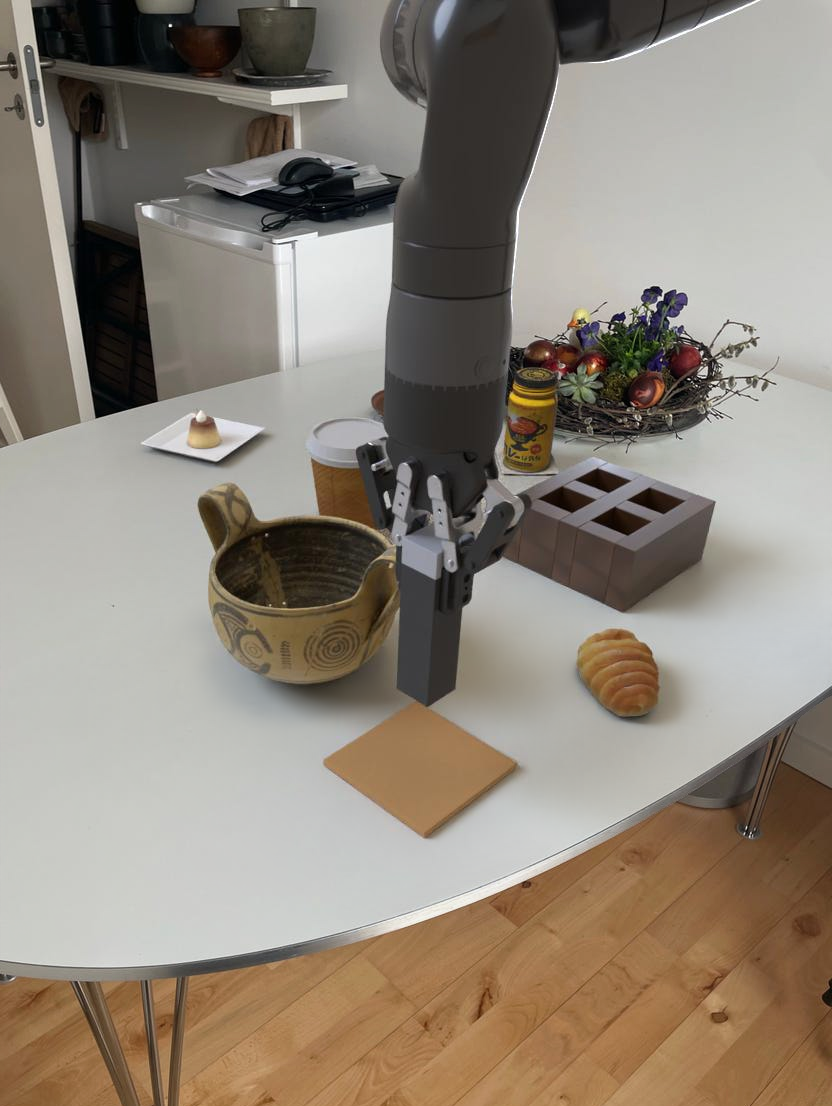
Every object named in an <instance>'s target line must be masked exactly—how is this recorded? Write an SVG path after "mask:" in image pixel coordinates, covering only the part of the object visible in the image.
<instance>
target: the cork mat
mask: <svg viewBox="0 0 832 1106" xmlns="http://www.w3.org/2000/svg"><path fill="white" fill-rule="evenodd" d="M322 762H323V764H322V765H323V766H324V767H326V768H327V769H328V770H330V772H332V773H334V774H335V775H337V776H338V777H340V778H341V779H342V780H344V781H345V782H346V783H347V784H349V785H350V786H352V787H353V788H354V789H356V790H358V791H359V792H360V793H361V794H363V795H364V796H366V797H367V798H368V799H369V800H371V801H372V802H374V803H375V804H377V805H378V807H381V808H382V809H383V810H384V811H386V812H387V813H388V814H390V815H392V816H393V817H395V818H396V819H397V820H399V821H400V822H401V823H403V825H405V826H407V827H409V829H411V830H413V831H414V832H415V833H417V834H418V835H420V837H422V838H426V837H428V836H429V835H430V834H432V833H433V832H434V831H436V830H437V829H438V828H439V827H441V826H442V825H444V824H445V823H447V822H448V821H449V820H450V819H452V818H453V817H454V816H455V815H456V814H458V813H459V812H461V811H462V810H463V809H464V808H466V807H467V806H468V805H470V804H471V803H473V802H474V801H475V800H476V799H478V798H479V797H481V796H482V795H483V794H484V793H485V792H488V790H489V789H491V788H492V787H494V786H495V785H496V784H497V783H499V782H501V780H503V779H504V778H505V777H507V776H508V775H509V774H511V773H512V772H513V771H515V770H516V769H517V767H518V762H516V761H515V760H513V759H512V758H510V757H508V756H506V755H505V754H503V753H502V752H501V751H499V750H497V749H496V748H493V747H492V746H491V745H490V744H488V743H485V742H484V741H482V740H481V739H479V738H478V737H476V736H475V735H472V734H471V733H469V731H467V730H464V729H462V728H461V727H460V726H458V725H457V724H455V723H453V722H451V721H450V720H448V719H446V718H445V717H444V716H443V715H440V714H438V712H435V711H434V710H432V709H430V708H429V707H426V706H424V705H423V704H421V703H419V702H418V701H416V700H415V701H413V702H412V703H411V704H409V705H407V706H405V707H404V708H403V709H401V710H400V711H398V712H396V713H395V714H393V715H392V716H390V717H388V718H387V719H385V720H384V721H382V722H381V723H379V724H377V725H375V726H374V727H373V728H371V729H369V730H368V731H366V732H365V733H363V734H362V735H360V736H358V737H357V738H356V739H354V740H352V741H351V742H349V743H348V744H346V745H344V746H343V747H341V748H339V749H338V750H336V751H335V752H333V753H332V754H330V755H329V756H327V757H325V758H324V759H323V760H322Z"/></svg>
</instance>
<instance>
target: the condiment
mask: <svg viewBox="0 0 832 1106" xmlns="http://www.w3.org/2000/svg"><path fill="white" fill-rule="evenodd" d="M557 384H558V375H557V373H556V372H555V371H554V370H551V369H548V368H544V367H537V366H535V367H534V366H533V367H532V366H531V367H523V368H521V369H519V370H517V371H516V372H515V373H514V376H513V384H512V389H513V390H512V391H511V392H510V394H509V396H508V405H507V415H506V425H505V432H504V440H503V446H500V445H499V446H498V445H496V448H495V455H496V458H497V461H498V465H499V468H500V473H501V474H503V475H527V476H528V475H529V476H530V475H548V474H549V475H554V474H555V475H557V474H559V473H561V471H559V468H558V466H557V463H556V461H555V458H554V456H553V453H552V451H553V444H554V435H555V429H556V428H555V427H556V420H557V412H558V405H559V404H558V403H559V397H558V395H557V393H556V392H557V390H558V386H557Z"/></svg>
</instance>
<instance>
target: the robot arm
mask: <svg viewBox="0 0 832 1106" xmlns="http://www.w3.org/2000/svg"><path fill="white" fill-rule="evenodd" d="M759 1H760V0H389V1H388V4H387V5H386V9H385V11H384V14H383V17H382V21H381V26H380V33H379V48H380V49H379V50H380V56H381V57H380V58H381V61H382V64H383V68H384V71H385V73H386V75H387V78H388V79H389V82H390V83H391V84H392V86H393V87H394V88H395V90H396V91H397V92H398V93H399V94H400V95H401V96H402V97H403V98H404V99H405V100H407V101H408V102H409V103H410V104H412V105H414V106H416V107H417V108H419V109H420V110H423V111H426V116H425V124H424V132H423V139H422V144H421V145H422V146H421V150H420V151H421V152H420V157H419V165H418V169H417V170H415V171H414V172H412V173H410V174H409V175H407V176H406V177H404V180H403V181H402V182H401V183H400V185H399V187H398V189H397V193H396V197H395V202H394V209H393V221H392V249H391V250H392V252H391V253H392V254H391V255H392V257H391V284H390V294H389V301H388V307H387V312H386V320H385V321H386V322H385V344H384V346H385V349H384V380H383V381H384V382H383V383H384V384H383V385H384V386H383V390H384V415H383V416H382V418H383V419H382V422H383V423H382V424H383V425H384V429H385V431H386V433H387V435H388V437H382V438H379V439H375V440H373V441H370V442H368V443H366V444H364V445H361V446H359V447H357V449H356V457H357V461H358V465H359V468H360V472H361V476H362V480H363V483H364V487H365V491H366V495H367V499H368V502H369V506H370V510H371V514H372V517H373V521H374V524H375V526H376V527H377V530H381V531H382V530H385V529H386V530H387V532H389V533H390V534H391V536H390V537H391V538H390V539H391V540H392V543H393V544H395V545H396V565H395V566H396V567H395V575H396V579H397V581H398V589H399V590H400V589H401V565H402V540H403V537H405V536H407V535H409V534H411V533H413V532H415V531H417V530H420V529H422V528H424V527H426V526H428V525H430V521H431V517H432V519H433V523H434V529H435V536H436V537H437V538H439V539H440V540H441V546H442V557H443V564H444V567H443V568H441V582H440V597H439V611H440V612H441V613H443V614H445V615H447V616H450V615H452V614H453V613H455V612H457V611H459V610H460V609H462V610H463V608H464V607H465V606H467V605H469V604H470V602H471V600H472V599H473V589H474V587H473V586H474V585H473V584H474V577H475V575H476V574H477V573H479V572H481V571H483V570H485V569H487V568H489V567H490V566H492V565H494V564H496V563H497V562H499V561H501V560H502V558H503V555H504V553H505V551H506V550H507V548H508V546H509V544H510V543H511V541H512V539H513V538H514V536H515V534H516V532H517V531H518V529H519V527H520V526H521V524H522V522H523V521H524V519H525V517H526V515H527V514H528V512H529V510H530V509H531V506H532V501H531V498H530V497H529V496H528V495H527V494H526V493H520V492H519V494H518V493H516V494H517V495H516V494H513V493H512V492H511V491H510V490H509V489H508V488H507V487H506V486H505V485H503V483H501V482H500V481H499V477H500V472H499V468H498V465H497V461H496V451H495V448H496V446H498V443H499V439H500V437H501V435H502V432H503V428H504V427H503V426H504V418H505V417H504V416H505V409H506V408H505V407H506V400H507V399H506V398H507V388H508V378H509V366H510V358H511V357H510V356H511V349H512V348H511V347H512V338H513V325H514V317H513V315H514V314H513V313H514V312H513V311H514V310H513V283H514V276H515V275H514V274H515V266H516V256H517V245H518V235H519V214H520V213H519V212H520V208H521V205H522V201H523V198H524V195H525V193H526V191H527V188H528V185H529V182H530V180H531V177H532V174H533V172H534V168H535V164H536V161H537V157H538V155H539V151H540V148H541V145H542V142H543V138H544V135H545V132H546V128H547V125H548V123H549V122H548V121H549V118H550V115H551V112H552V108H553V104H554V101H555V95H556V92H557V86H558V81H559V73H560V72H559V71H560V67H561V66H564V65H571V64H582V63H583V64H598V63H606V62H613V61H616V60H620V59H623V58H627V57H629V56H632V55H634V54H637V53H640V52H642V51H644V50H647V49H650V48H652V47H654V46H657V45H659V44H661V43H665V42H667V41H669V40H671V39H674V38H677V37H679V36H681V35H683V34H684V35H685V34H687V33H689V32H692V31H693V30H696V29H698V28H700V27H702V26H705V25H707V24H709V23H712V22H714V21H716V20H719V19H721V18H723V17H725V16H727V15H729V14H732V13H735V12H737V11H740V10H742V9H744V8H745V7H748V6H751V5H752V4H755V3H757V2H759ZM385 493H387V496H388V499H389V500H388V501H389V504H390V506H389V507H387V503H386V501H385ZM514 495H515V496H514ZM483 499H485V508H484V512H483V508H482V507H483V506H482V500H483ZM483 521H485V522H484V524H483ZM460 538H461V545H462V548H460V544H459V540H460Z"/></svg>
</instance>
